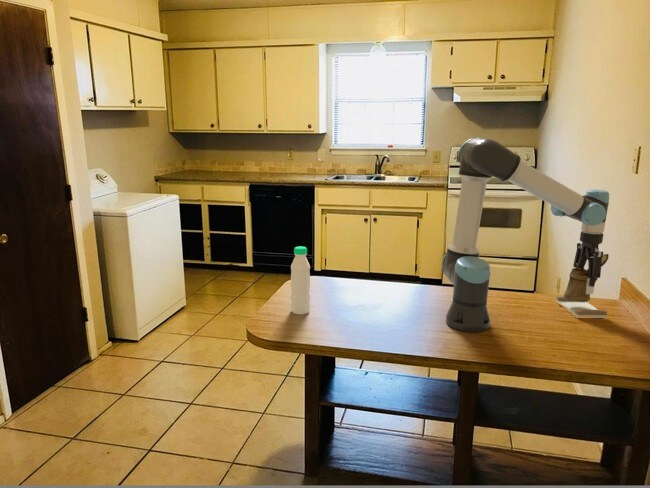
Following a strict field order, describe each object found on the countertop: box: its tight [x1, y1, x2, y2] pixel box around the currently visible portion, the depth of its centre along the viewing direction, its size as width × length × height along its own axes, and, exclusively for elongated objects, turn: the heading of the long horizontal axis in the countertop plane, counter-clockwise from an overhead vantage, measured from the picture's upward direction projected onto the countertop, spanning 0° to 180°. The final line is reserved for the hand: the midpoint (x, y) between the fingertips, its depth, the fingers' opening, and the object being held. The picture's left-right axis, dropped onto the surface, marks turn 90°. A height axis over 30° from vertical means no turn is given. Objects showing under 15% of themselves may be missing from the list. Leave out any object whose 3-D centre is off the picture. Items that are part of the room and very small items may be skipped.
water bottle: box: [290, 245, 311, 315], centre depth 181 cm, size 7×7×25 cm
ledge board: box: [555, 295, 608, 319], centre depth 190 cm, size 11×16×3 cm
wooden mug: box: [563, 253, 610, 302], centre depth 186 cm, size 9×14×18 cm, turn 84°
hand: (583, 290), depth 188 cm, fingers closed on wooden mug, 7 cm apart
